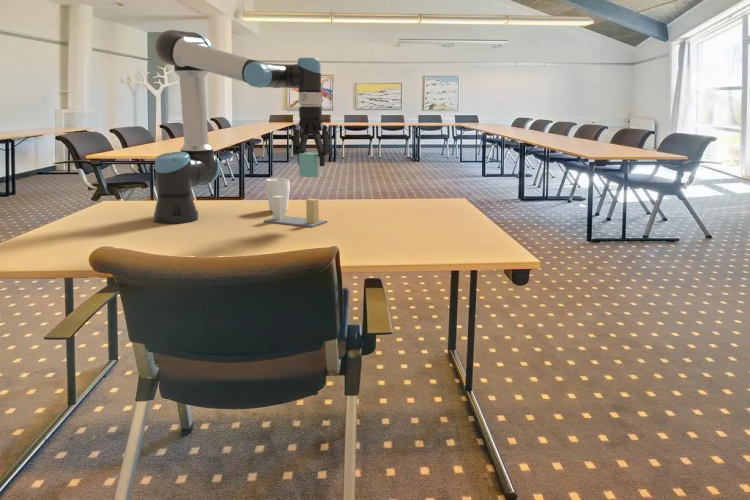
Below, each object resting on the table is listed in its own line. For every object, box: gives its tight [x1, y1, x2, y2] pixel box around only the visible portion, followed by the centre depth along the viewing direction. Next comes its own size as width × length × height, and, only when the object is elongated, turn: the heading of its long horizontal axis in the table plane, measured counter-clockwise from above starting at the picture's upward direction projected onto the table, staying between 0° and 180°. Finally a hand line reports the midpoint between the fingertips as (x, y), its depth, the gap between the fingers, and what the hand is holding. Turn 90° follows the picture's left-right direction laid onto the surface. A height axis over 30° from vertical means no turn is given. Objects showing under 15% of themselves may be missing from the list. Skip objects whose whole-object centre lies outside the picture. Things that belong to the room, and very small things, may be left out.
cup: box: [265, 177, 291, 213], centre depth 243 cm, size 9×9×12 cm
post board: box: [263, 196, 328, 228], centre depth 222 cm, size 20×10×9 cm, turn 65°
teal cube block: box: [298, 151, 325, 178], centre depth 215 cm, size 6×6×8 cm
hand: (311, 175), depth 215 cm, fingers closed on teal cube block, 6 cm apart
